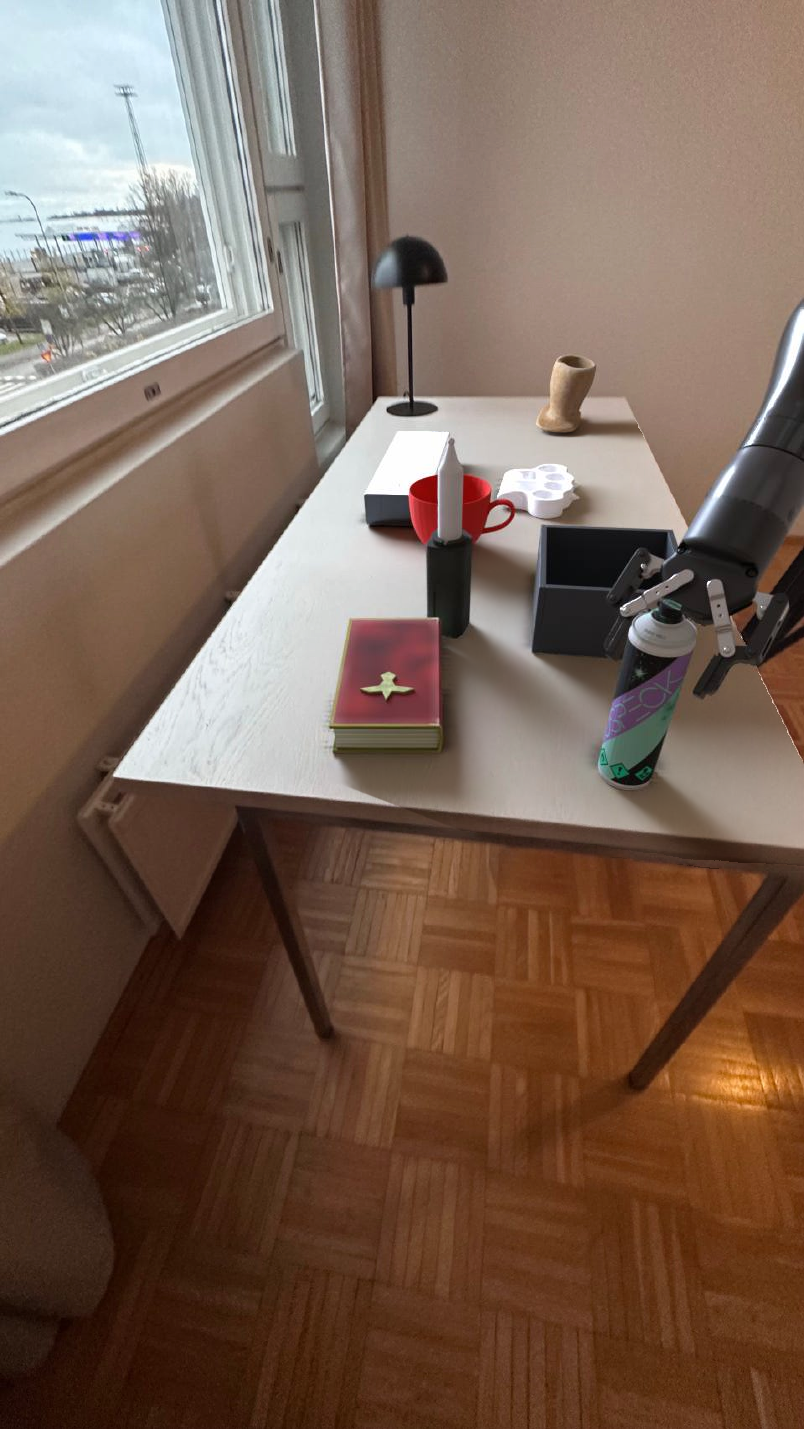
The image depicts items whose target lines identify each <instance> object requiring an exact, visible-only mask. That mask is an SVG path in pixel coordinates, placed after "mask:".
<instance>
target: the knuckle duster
mask: <svg viewBox="0 0 804 1429" xmlns="http://www.w3.org/2000/svg"><path fill="white" fill-rule="evenodd" d="M568 471H569V469H568V467H567V466H564V465H562V464H555V463H545V464H541V465H538V466H537V467H535V468H531V469H529V468H517V469H511V470H509V471H507V472H505V473H503V474H504V476H503V479H502V483H500V489H499V492H498V494H497V497H496V500H499V499H507V500H510V501H511V502H512V503H513V504H514V506H515V510H523V511H525V512H527V513H528V514H529V515H530V516H532V517H534V518H538V519H546V520H547V519H556V518H559V517H561V516H562V515H563V510H565V509H567V508H569V507H570V505H571V504H572V503H573V502H574V501H576V500H579V499H580V497H579V496H578V495H577V494H576V493H574V490H576V489H578V488H580V487H581V484H579V483H577V482H575V478H574V476H573V475H572V474H570V473H569V472H568ZM500 506H502V507H504V508H507V509H508V508H509V507H508V506H506V505H500ZM509 509H510V508H509Z"/></svg>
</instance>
